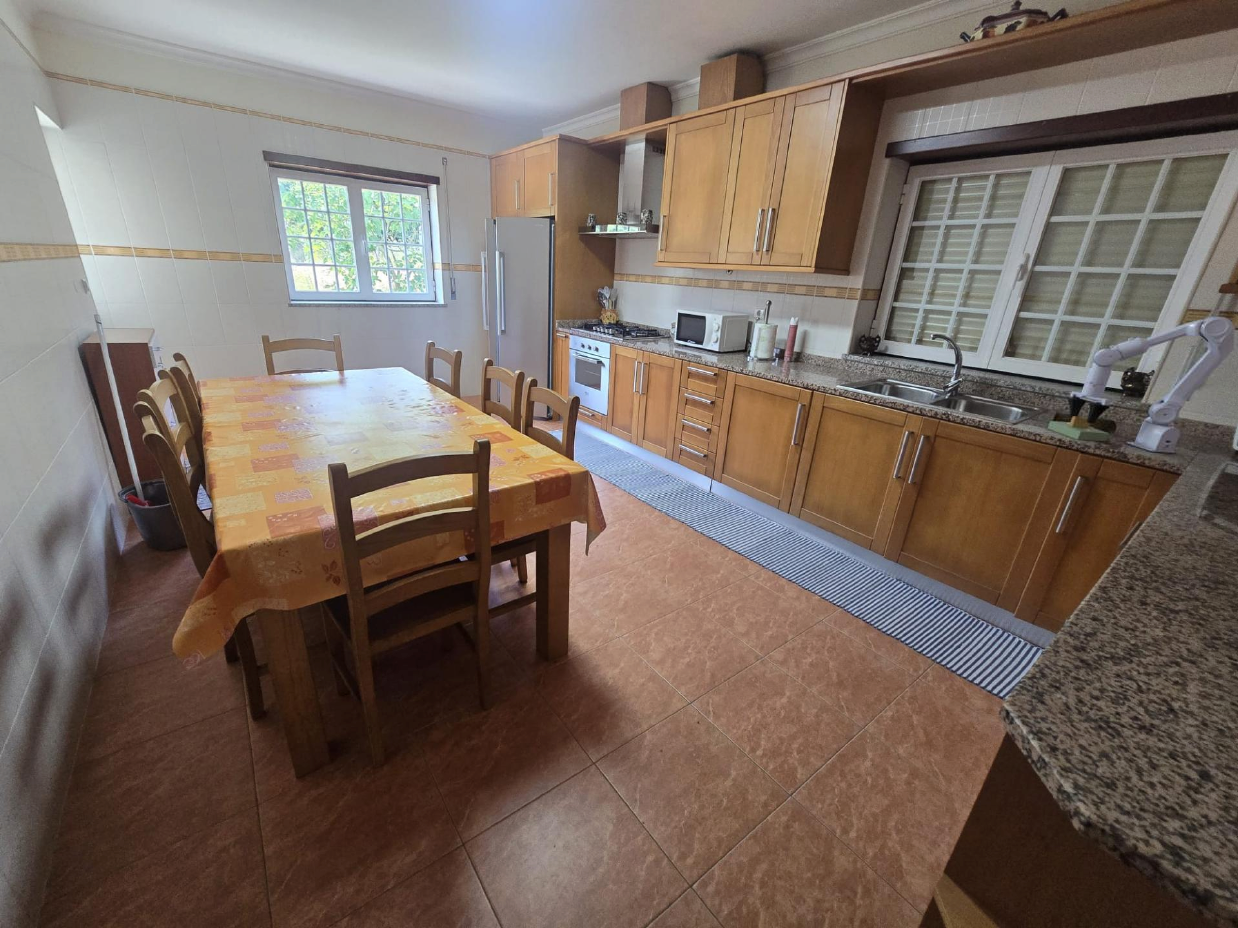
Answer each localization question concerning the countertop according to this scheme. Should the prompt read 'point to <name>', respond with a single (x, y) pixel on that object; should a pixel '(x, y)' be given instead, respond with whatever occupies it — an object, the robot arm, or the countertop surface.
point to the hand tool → (1099, 423)
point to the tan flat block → (1079, 422)
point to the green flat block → (1078, 431)
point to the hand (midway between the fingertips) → (1081, 420)
